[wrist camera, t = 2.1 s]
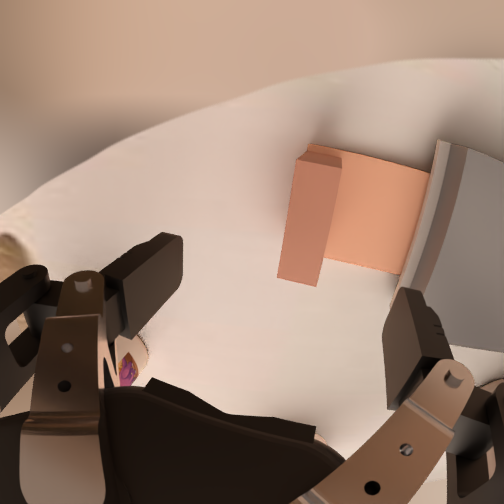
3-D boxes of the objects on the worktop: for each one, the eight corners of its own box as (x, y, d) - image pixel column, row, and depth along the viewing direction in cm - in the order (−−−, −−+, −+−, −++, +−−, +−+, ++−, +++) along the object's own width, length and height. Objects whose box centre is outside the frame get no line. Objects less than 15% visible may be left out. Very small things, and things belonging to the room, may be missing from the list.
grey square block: (551, 189, 15) (584, 207, 11) (501, 321, 21) (520, 354, 16) (432, 138, 18) (456, 143, 13) (387, 296, 23) (394, 334, 19)
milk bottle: (96, 336, 37) (3, 432, 19) (110, 307, 33) (-5, 419, 16) (138, 374, 37) (55, 481, 20) (159, 351, 34) (60, 480, 16)
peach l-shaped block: (539, 214, 16) (577, 241, 11) (507, 298, 20) (533, 338, 14) (308, 143, 20) (297, 150, 15) (291, 246, 24) (275, 284, 18)
